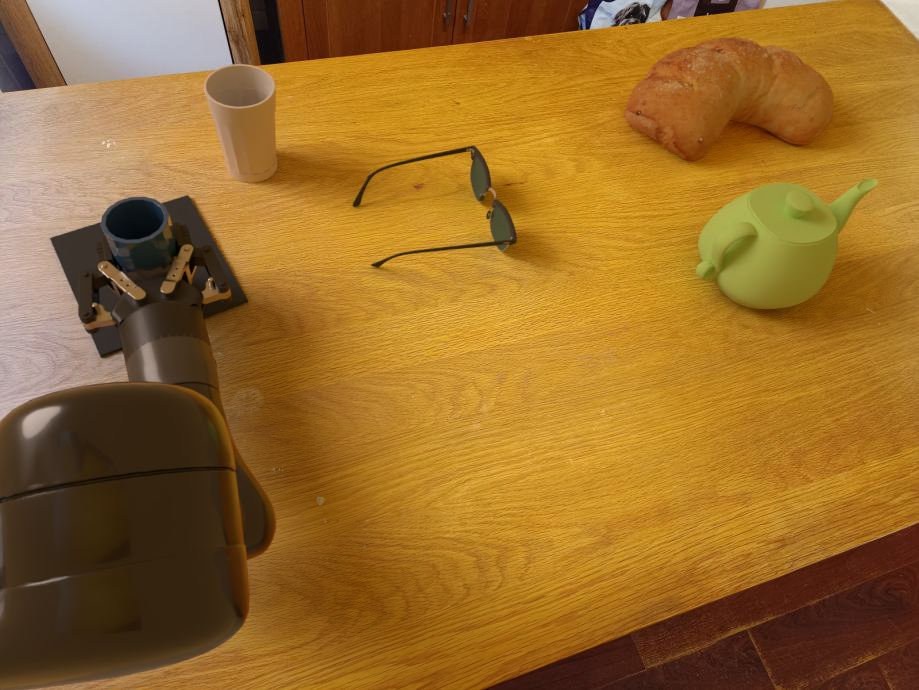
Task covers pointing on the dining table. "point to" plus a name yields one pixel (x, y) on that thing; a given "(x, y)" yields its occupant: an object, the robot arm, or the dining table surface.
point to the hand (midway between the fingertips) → (142, 233)
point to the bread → (729, 96)
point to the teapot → (775, 243)
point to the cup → (244, 119)
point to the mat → (81, 255)
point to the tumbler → (140, 236)
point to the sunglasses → (481, 185)
